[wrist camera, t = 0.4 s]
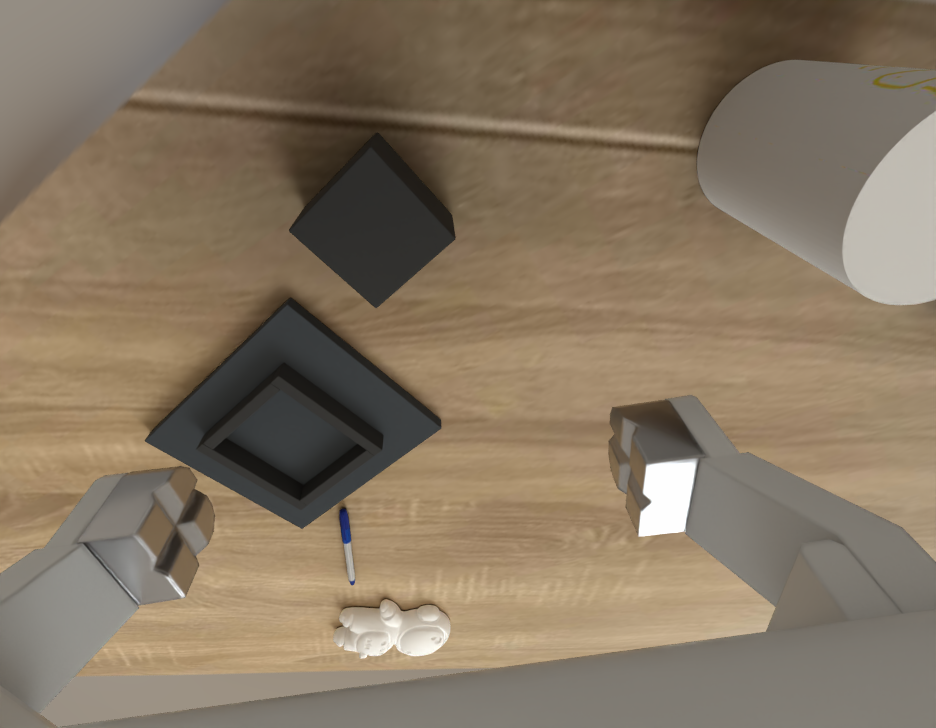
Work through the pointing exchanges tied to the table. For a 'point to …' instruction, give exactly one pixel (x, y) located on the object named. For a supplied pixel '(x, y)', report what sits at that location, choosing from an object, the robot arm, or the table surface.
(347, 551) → the ballpoint pen
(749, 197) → the cup
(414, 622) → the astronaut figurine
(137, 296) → the table surface
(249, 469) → the socket base plate
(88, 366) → the table surface
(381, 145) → the black box
